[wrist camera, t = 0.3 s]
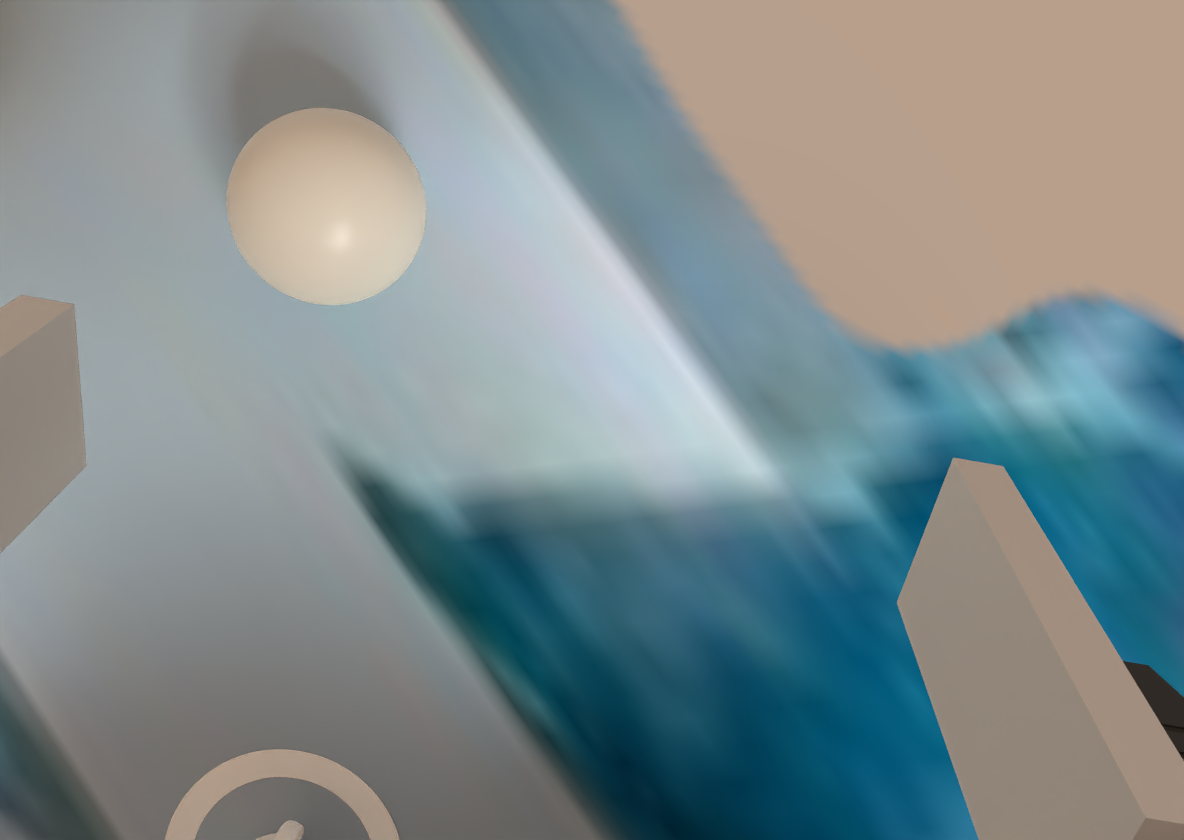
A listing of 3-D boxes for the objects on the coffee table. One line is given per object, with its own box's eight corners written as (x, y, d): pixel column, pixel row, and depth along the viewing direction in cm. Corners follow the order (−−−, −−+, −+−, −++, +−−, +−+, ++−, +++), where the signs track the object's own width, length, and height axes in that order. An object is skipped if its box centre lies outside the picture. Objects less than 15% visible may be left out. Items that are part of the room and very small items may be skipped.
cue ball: (437, 313, 32) (400, 305, 26) (263, 304, 32) (190, 295, 26) (444, 135, 31) (409, 90, 26) (268, 126, 31) (195, 79, 26)
